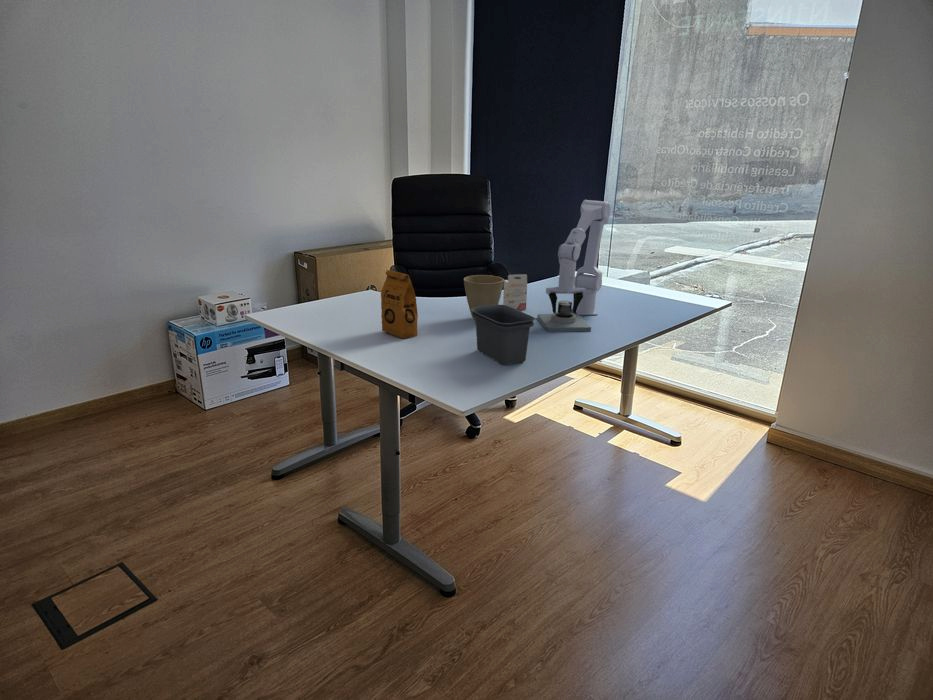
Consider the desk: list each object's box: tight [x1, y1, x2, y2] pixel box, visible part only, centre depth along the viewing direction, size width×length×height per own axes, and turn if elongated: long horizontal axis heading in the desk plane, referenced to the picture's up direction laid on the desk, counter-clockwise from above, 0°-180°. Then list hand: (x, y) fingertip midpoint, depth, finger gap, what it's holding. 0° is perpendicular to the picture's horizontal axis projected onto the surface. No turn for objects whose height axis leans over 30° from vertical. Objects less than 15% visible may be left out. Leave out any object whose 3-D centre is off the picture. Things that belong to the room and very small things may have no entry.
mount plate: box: [537, 311, 592, 332], centre depth 226 cm, size 18×16×4 cm
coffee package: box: [380, 269, 419, 340], centre depth 207 cm, size 10×12×22 cm
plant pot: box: [463, 274, 505, 322], centre depth 226 cm, size 15×15×16 cm
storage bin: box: [471, 304, 536, 366], centre depth 189 cm, size 21×16×14 cm
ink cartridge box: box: [502, 273, 528, 311], centre depth 243 cm, size 9×5×15 cm, turn 105°
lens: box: [557, 300, 573, 318], centre depth 224 cm, size 5×5×7 cm
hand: (564, 312), depth 225 cm, fingers open, 7 cm apart
